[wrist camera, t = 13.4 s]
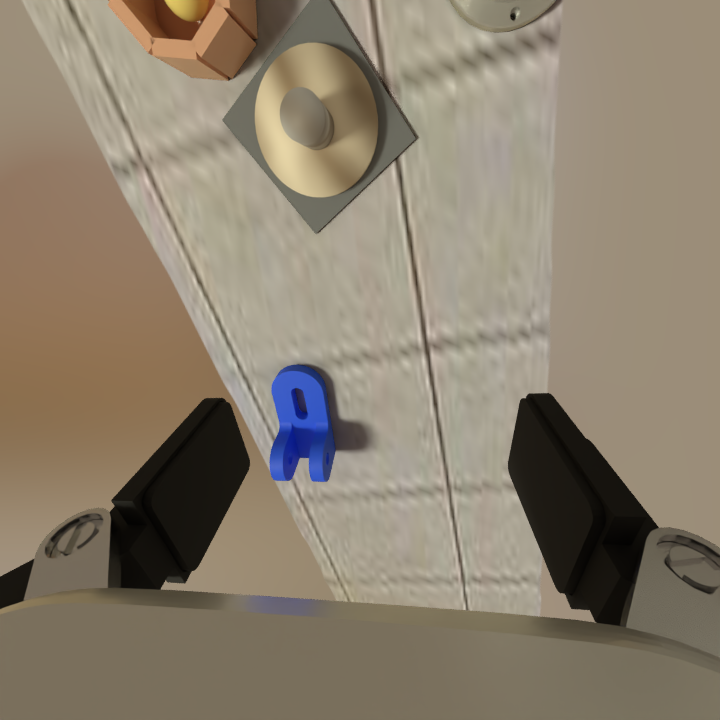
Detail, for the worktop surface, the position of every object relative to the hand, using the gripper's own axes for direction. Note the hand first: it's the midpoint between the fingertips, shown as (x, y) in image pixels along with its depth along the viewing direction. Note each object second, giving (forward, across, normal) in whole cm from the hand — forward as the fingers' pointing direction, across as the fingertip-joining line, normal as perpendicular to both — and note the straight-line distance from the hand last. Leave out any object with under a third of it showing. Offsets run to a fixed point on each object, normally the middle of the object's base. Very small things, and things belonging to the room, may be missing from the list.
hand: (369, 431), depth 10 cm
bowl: (+33, +17, -24) cm, 44 cm away
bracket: (+34, +15, +25) cm, 44 cm away
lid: (+33, +7, -13) cm, 36 cm away
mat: (+33, +7, -13) cm, 37 cm away
